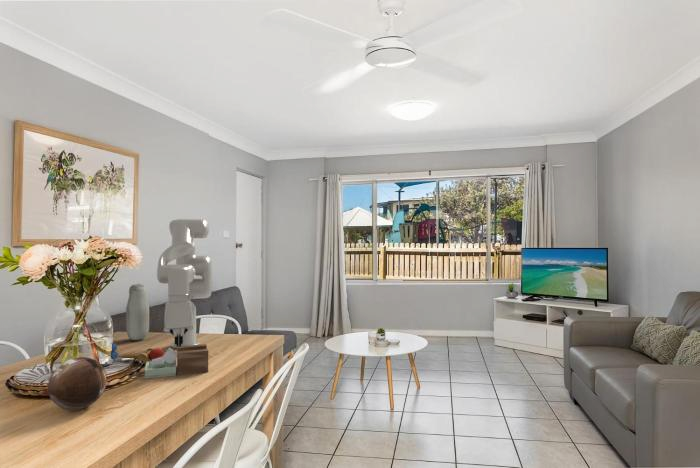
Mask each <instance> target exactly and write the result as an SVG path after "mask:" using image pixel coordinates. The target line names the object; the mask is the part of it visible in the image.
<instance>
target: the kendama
mask: <svg viewBox="0 0 700 468" xmlns="http://www.w3.org/2000/svg"><path fill="white" fill-rule="evenodd" d="M164 353H165V351H164V350H163V349H162V348H159V347H158V348H157V347H156V348H153V347H150V348H148V349H146V350H145V352H140V353H129V354H126V353H125V354H122V355H121V357H120V358H134V359H137V362H138V361H143V362H144V363H145V364H144V365H146V363H147V362H150V361H152V359H156V358H159V357H162V356H163V355H164Z"/></svg>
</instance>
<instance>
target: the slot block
mask: <svg viewBox="0 0 700 468" xmlns="http://www.w3.org/2000/svg"><path fill="white" fill-rule="evenodd" d="M207 347H208V345H207V343H200V344H198V345H187V346H181V347H180V346H178V347H177V348H176V352H177V358H176V376H182V375H190V374H191V375H192V374H200V373H209V349H208V348H207Z"/></svg>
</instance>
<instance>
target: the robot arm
mask: <svg viewBox="0 0 700 468" xmlns="http://www.w3.org/2000/svg"><path fill="white" fill-rule="evenodd" d="M168 228H169V231H170V235H171V237H172V238H171V245H170V246H169V247H167V248H166V249H165V250H164V251H163V252H162V253H161V255H160V256H159V258H158V263H157V269H156V270H157V271H156V277H157V278H156V279H157V280H158V282H159V283H160V284H167V287H168V288H167V302H166V303H165V307H164V319H163V320H164V322H163V323H164V326H163V327H164V328H163V332H165V333H170V334H172V336H173V337H174V342H172V343H171V344H170V346H171V347H170V348H171V349H177V347H178V346H180V347H181V346H187V345H198V344H201V343H200V341H198V340H197V308H196V307H197V306H196V304H194V302H193V301H191V300H193V299H195V300H196V299H197V300H198V299H208V298H210V297H211V295H212V291H213V290H212V289H213V288H212V287H213V285H212V284H213V279H212V278H213V275H212V272H213V271H212V270H213V269H212V268H213V267H212V260H211V258H210V257H209V256H207V255H196V245H195V242H194V239H206V238H207V237H208V235H209V232H210V225H209V222H208V220H206V219H199V218H198V219H194V218H193V219H191V218H189V219H188V218H185V219H184V218H183V219H182V218H179V219H173V220H171V221H170V222H169V227H168ZM174 260H175V262H176V263H175V264H169V263H170V262H173V261H174ZM196 276H198V277H199V276H200V277H201V278H196Z"/></svg>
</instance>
